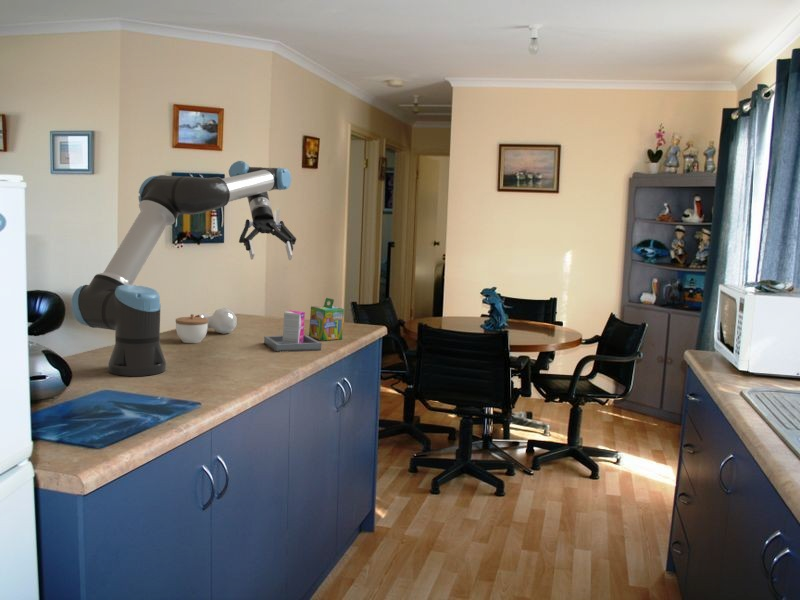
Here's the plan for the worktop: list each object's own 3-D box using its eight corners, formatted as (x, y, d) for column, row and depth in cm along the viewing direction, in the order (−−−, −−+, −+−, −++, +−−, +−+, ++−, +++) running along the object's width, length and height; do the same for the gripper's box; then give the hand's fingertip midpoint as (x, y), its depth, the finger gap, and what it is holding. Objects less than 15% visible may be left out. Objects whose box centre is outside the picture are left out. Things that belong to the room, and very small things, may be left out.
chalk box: (308, 337, 270) (309, 297, 268) (328, 335, 276) (330, 296, 274) (323, 341, 263) (324, 300, 261) (343, 339, 269) (345, 299, 267)
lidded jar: (169, 342, 246) (169, 315, 245) (185, 337, 256) (186, 311, 255) (197, 345, 244) (198, 317, 242) (213, 340, 254) (214, 313, 253)
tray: (276, 351, 240) (277, 344, 240) (264, 343, 254) (264, 336, 253) (321, 350, 247) (321, 343, 247) (306, 341, 261) (306, 335, 260)
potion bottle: (236, 338, 267) (197, 340, 269) (242, 320, 274) (204, 322, 276) (229, 320, 261) (189, 322, 263) (236, 302, 268) (197, 304, 270)
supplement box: (298, 347, 247) (299, 313, 246) (281, 345, 248) (282, 312, 247) (303, 344, 253) (305, 311, 251) (287, 342, 254) (288, 310, 252)
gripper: (229, 203, 257) (238, 249, 246) (297, 207, 268) (308, 251, 257) (225, 218, 263) (234, 263, 251) (292, 221, 274) (303, 264, 262)
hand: (271, 257), depth 254 cm, fingers open, 13 cm apart
